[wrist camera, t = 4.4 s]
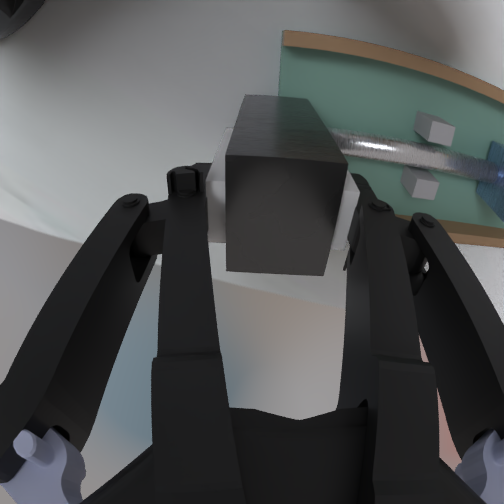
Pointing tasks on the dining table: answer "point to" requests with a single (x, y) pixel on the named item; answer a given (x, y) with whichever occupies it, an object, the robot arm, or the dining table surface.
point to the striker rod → (313, 182)
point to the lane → (403, 122)
